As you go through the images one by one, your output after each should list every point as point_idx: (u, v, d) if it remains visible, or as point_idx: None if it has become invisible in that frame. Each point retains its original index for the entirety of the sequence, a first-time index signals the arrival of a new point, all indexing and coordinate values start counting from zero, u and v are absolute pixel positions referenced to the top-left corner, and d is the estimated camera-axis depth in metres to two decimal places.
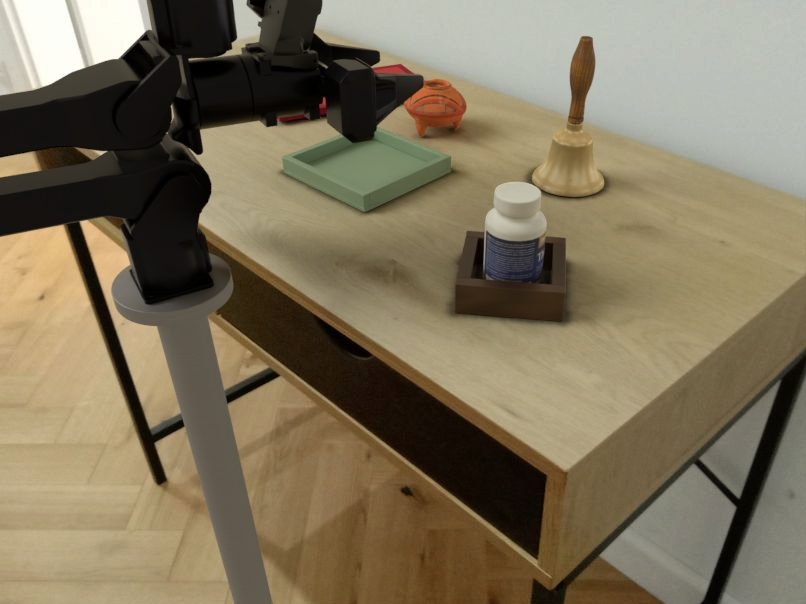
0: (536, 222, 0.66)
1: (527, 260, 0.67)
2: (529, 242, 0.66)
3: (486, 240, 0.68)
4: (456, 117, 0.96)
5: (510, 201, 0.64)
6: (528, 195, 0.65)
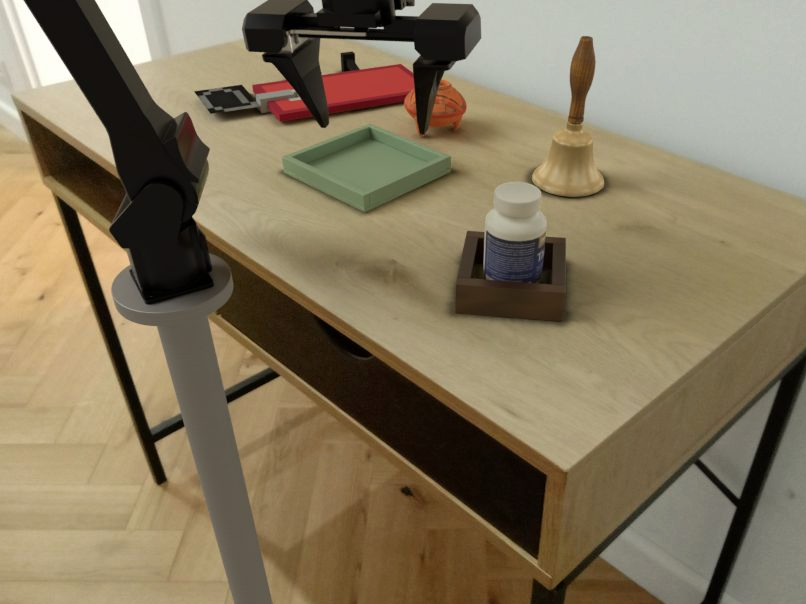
0: (536, 222, 0.66)
1: (527, 260, 0.67)
2: (529, 242, 0.66)
3: (486, 240, 0.68)
4: (456, 117, 0.96)
5: (510, 201, 0.64)
6: (528, 195, 0.65)
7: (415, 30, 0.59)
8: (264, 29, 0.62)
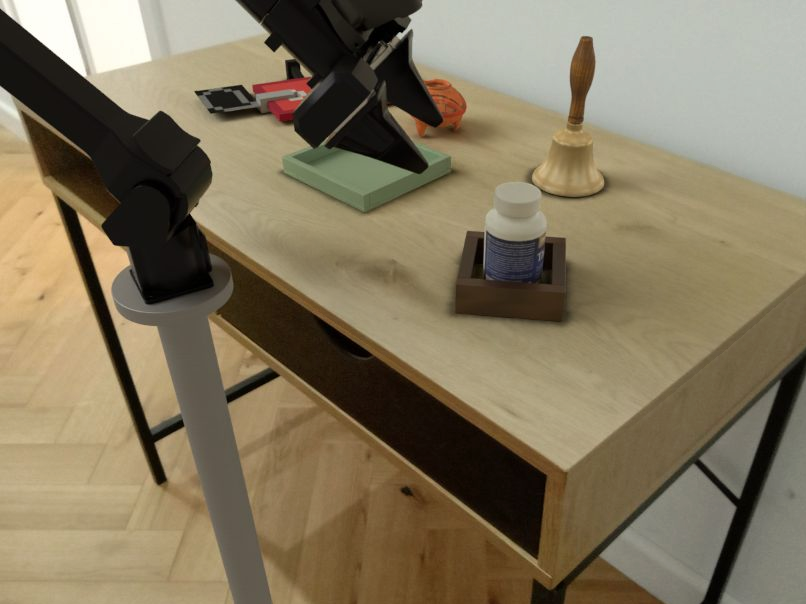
0: (536, 222, 0.66)
1: (527, 260, 0.67)
2: (529, 242, 0.66)
3: (486, 240, 0.68)
4: (456, 117, 0.96)
5: (510, 201, 0.64)
6: (528, 195, 0.65)
7: None
8: None
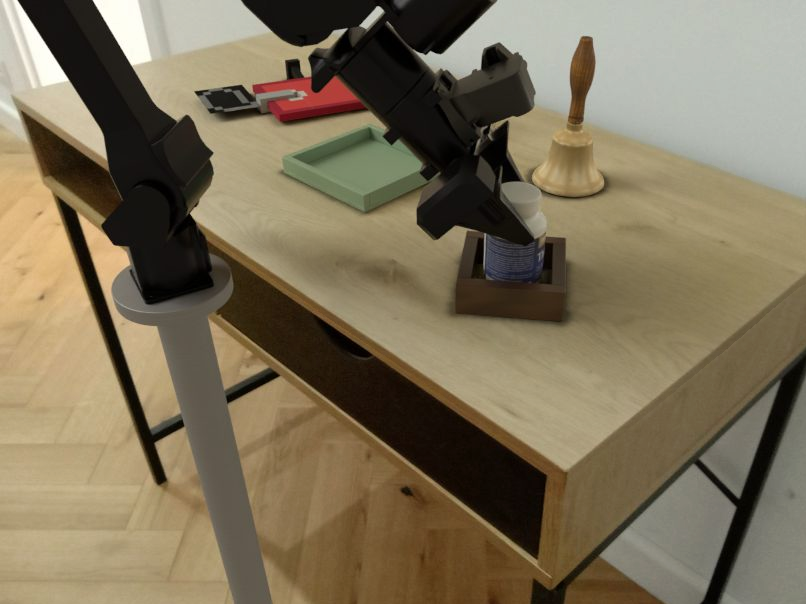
0: (536, 222, 0.66)
1: (527, 260, 0.67)
2: None
3: (486, 240, 0.68)
4: None
5: (510, 201, 0.64)
6: (528, 195, 0.65)
7: None
8: None
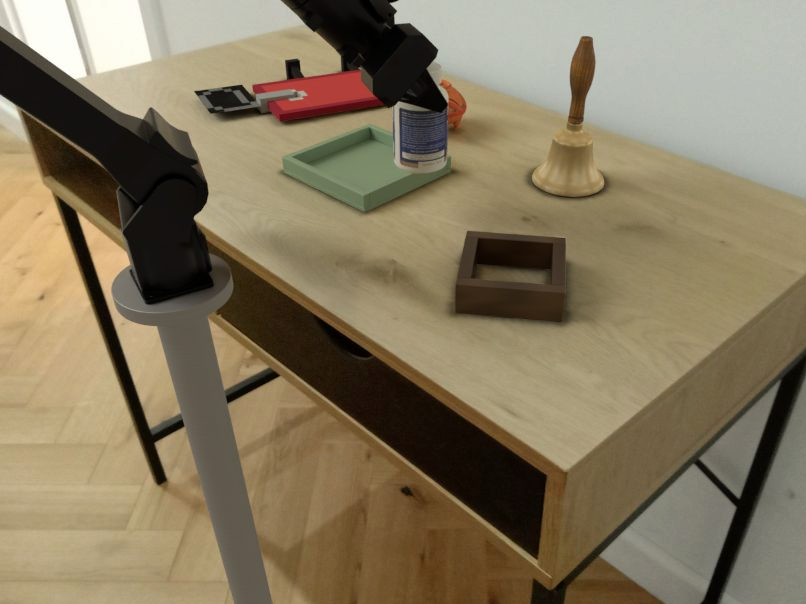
0: (442, 91, 0.74)
1: (441, 128, 0.75)
2: None
3: (400, 118, 0.74)
4: (456, 117, 0.96)
5: None
6: (431, 67, 0.72)
7: (361, 76, 0.65)
8: None
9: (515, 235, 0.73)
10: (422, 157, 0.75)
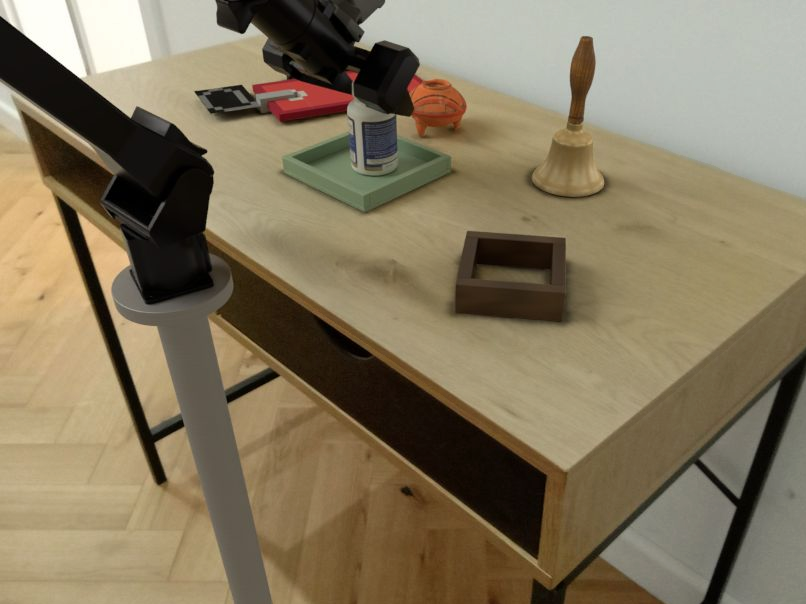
0: None
1: (395, 132, 0.87)
2: (395, 116, 0.86)
3: (363, 130, 0.85)
4: (456, 117, 0.96)
5: None
6: None
7: (354, 92, 0.76)
8: (274, 65, 0.82)
9: (515, 235, 0.73)
10: (385, 160, 0.87)
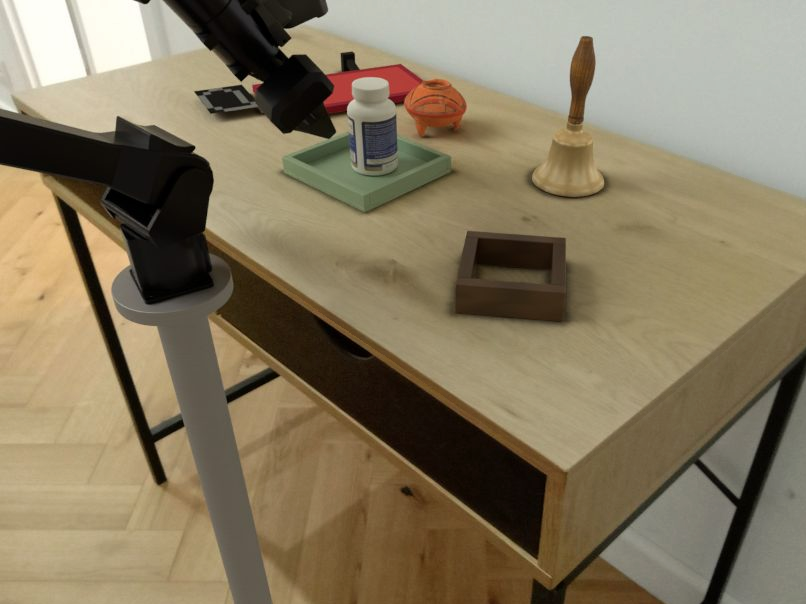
0: (390, 101, 0.86)
1: (395, 132, 0.87)
2: (395, 116, 0.86)
3: (363, 130, 0.85)
4: (456, 117, 0.96)
5: (378, 88, 0.83)
6: (380, 82, 0.84)
7: (256, 99, 0.68)
8: None
9: (515, 235, 0.73)
10: (385, 160, 0.87)
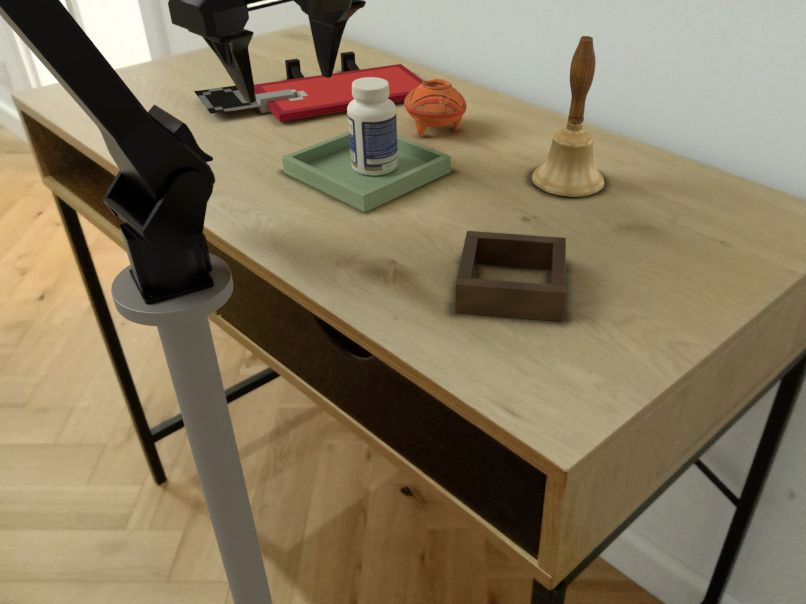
0: (390, 101, 0.86)
1: (395, 132, 0.87)
2: (395, 116, 0.86)
3: (363, 130, 0.85)
4: (456, 117, 0.96)
5: (378, 88, 0.83)
6: (380, 82, 0.84)
7: None
8: None
9: (515, 235, 0.73)
10: (385, 160, 0.87)
